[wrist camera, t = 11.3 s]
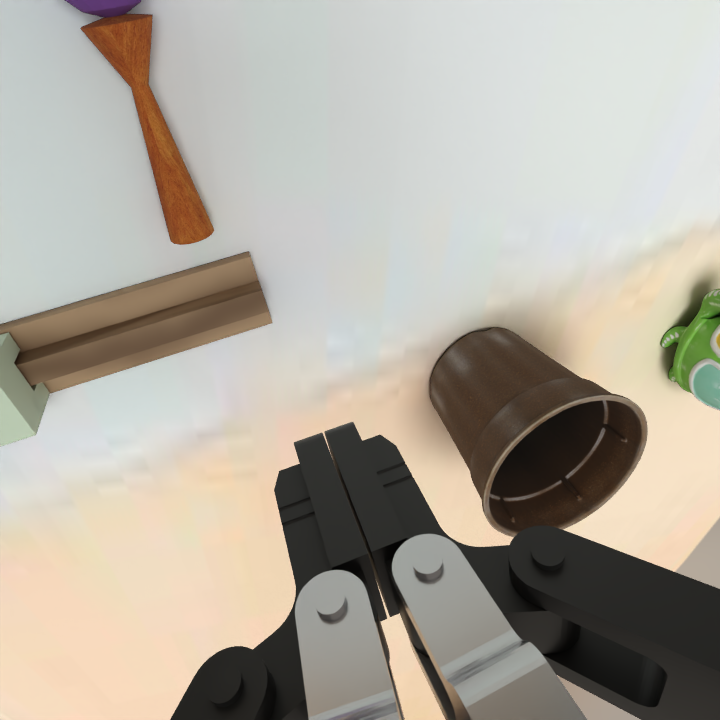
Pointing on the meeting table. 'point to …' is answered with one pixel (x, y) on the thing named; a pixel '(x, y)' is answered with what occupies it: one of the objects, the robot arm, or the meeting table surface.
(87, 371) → the rail
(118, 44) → the kendama
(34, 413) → the keeper
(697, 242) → the meeting table surface
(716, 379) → the turtle holder
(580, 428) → the plant pot
